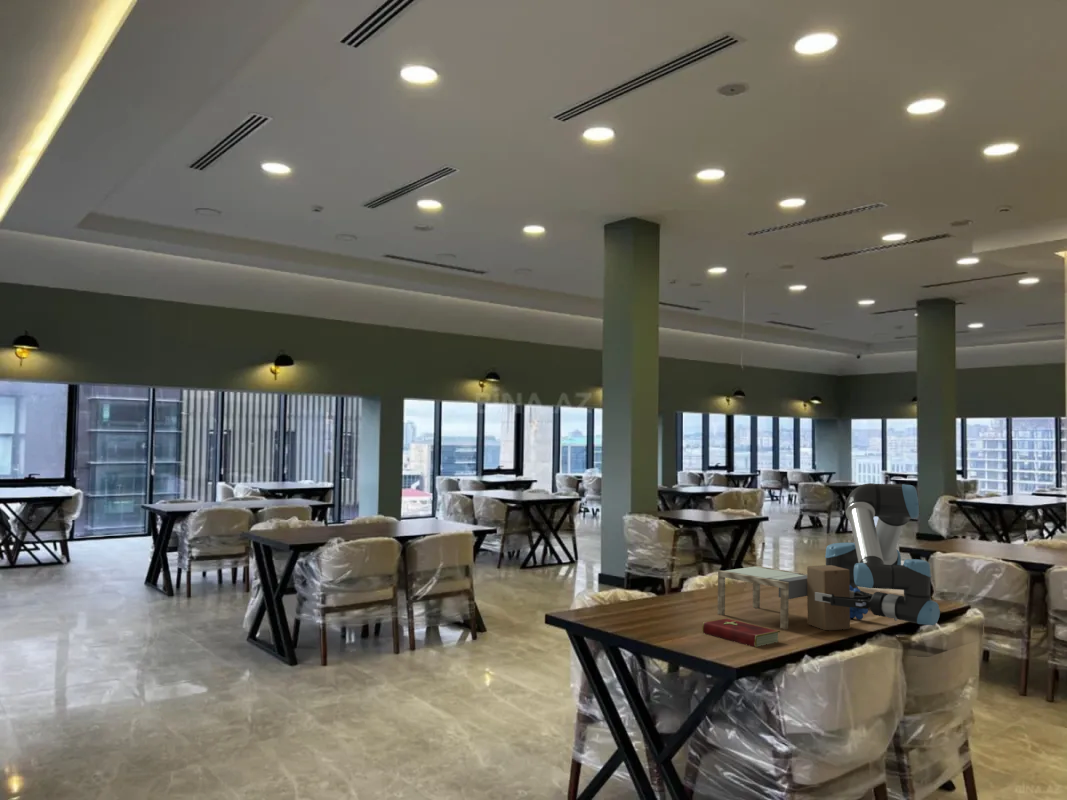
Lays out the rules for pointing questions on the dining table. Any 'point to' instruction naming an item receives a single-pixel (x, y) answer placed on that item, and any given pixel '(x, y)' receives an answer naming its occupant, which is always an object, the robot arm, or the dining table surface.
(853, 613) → the grapes
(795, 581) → the trapdoor
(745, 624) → the hardcover book
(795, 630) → the dining table surface
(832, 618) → the wooden block
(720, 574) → the hinged flap stand
